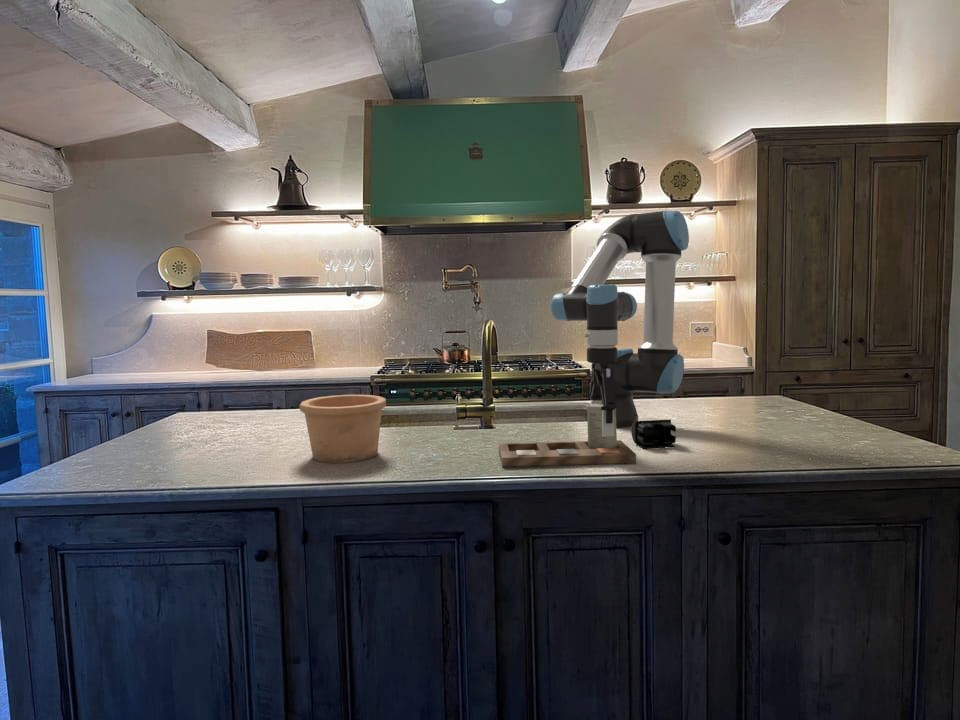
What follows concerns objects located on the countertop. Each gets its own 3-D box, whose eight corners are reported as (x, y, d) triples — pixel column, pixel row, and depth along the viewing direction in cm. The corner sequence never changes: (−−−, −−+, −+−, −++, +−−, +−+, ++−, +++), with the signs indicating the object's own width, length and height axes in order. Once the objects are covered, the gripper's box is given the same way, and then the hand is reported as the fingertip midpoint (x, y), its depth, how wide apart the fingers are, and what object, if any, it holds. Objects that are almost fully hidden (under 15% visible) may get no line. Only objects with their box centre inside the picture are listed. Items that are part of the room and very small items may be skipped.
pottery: (315, 446, 179) (313, 395, 177) (394, 445, 178) (392, 393, 177) (290, 466, 157) (287, 408, 156) (379, 465, 156) (377, 407, 155)
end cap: (666, 441, 176) (666, 417, 175) (677, 447, 169) (677, 422, 168) (631, 443, 175) (631, 419, 174) (640, 449, 168) (640, 424, 167)
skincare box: (617, 452, 163) (617, 405, 162) (609, 456, 160) (609, 407, 158) (594, 449, 167) (594, 402, 166) (586, 452, 164) (586, 405, 162)
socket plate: (502, 467, 152) (502, 456, 152) (498, 452, 167) (498, 441, 167) (636, 464, 153) (636, 452, 153) (620, 449, 168) (620, 438, 168)
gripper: (578, 343, 173) (578, 421, 175) (597, 351, 148) (597, 441, 150) (605, 342, 173) (605, 420, 175) (630, 350, 148) (629, 440, 150)
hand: (602, 430), depth 162 cm, fingers open, 13 cm apart
